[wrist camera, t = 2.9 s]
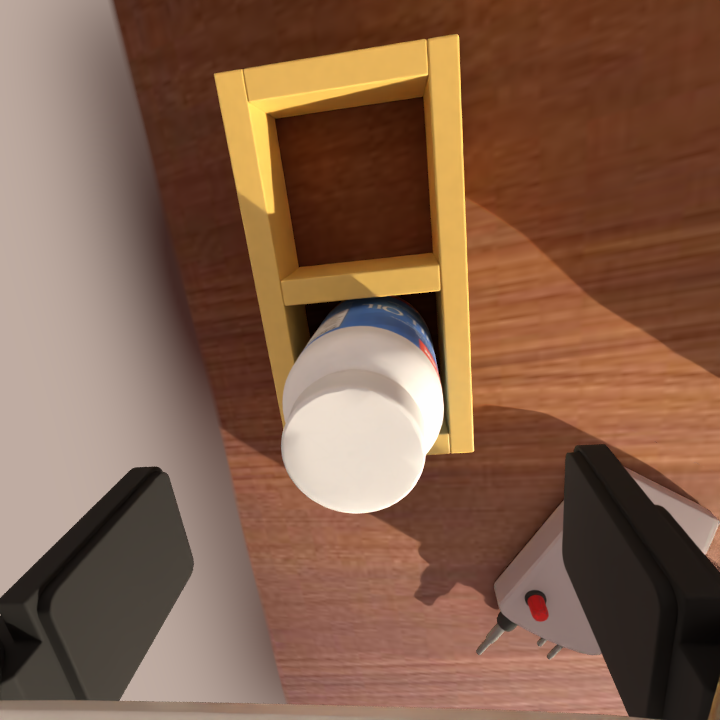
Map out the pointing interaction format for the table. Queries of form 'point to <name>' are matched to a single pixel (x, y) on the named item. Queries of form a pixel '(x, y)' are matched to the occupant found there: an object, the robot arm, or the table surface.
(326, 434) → the pill bottle
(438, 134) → the bottle holder
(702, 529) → the grey electronic device
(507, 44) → the table surface
